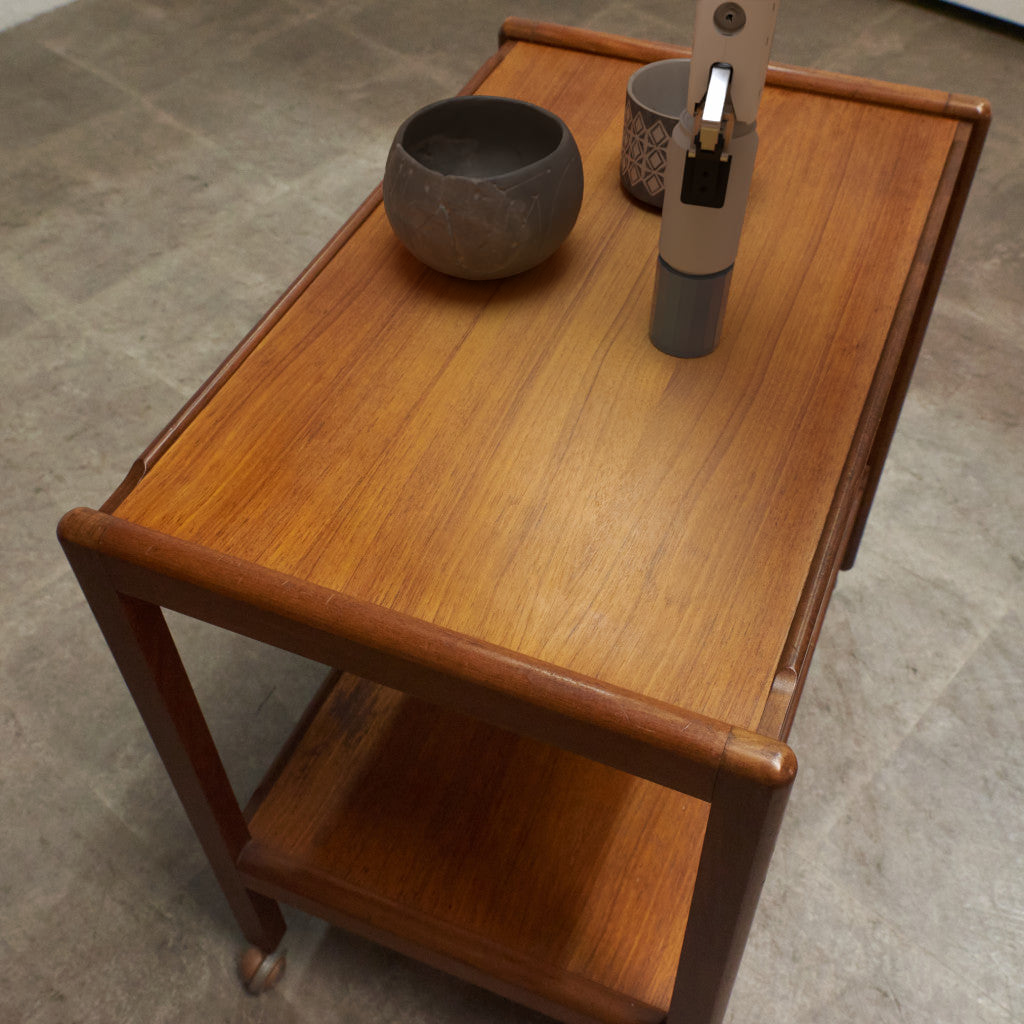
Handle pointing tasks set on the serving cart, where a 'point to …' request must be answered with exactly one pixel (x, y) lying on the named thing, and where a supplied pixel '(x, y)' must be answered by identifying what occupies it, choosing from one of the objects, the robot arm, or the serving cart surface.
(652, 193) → the planter
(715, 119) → the robot arm
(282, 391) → the serving cart surface
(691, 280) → the cup
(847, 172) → the serving cart surface
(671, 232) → the beverage can
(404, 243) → the bowl
